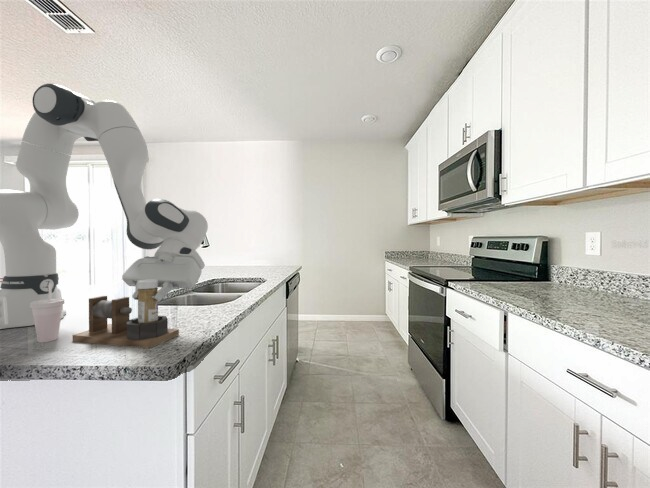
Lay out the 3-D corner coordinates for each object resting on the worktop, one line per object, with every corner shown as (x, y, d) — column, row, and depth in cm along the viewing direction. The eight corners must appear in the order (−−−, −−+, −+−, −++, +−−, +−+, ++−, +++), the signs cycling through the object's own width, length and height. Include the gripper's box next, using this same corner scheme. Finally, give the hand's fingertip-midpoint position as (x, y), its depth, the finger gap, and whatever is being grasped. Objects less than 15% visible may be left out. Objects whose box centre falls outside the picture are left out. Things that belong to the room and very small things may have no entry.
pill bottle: (159, 334, 75) (158, 280, 74) (137, 337, 72) (137, 281, 72) (158, 329, 79) (157, 278, 78) (137, 332, 76) (137, 279, 76)
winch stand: (72, 341, 74) (72, 300, 74) (109, 329, 84) (109, 293, 84) (149, 348, 69) (148, 305, 69) (178, 335, 79) (178, 297, 79)
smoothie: (71, 337, 77) (70, 282, 77) (40, 345, 71) (39, 286, 71) (54, 334, 79) (54, 281, 79) (23, 342, 73) (22, 284, 73)
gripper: (135, 249, 84) (102, 289, 75) (200, 250, 80) (174, 293, 70) (147, 264, 88) (118, 304, 79) (210, 265, 84) (187, 308, 75)
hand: (145, 299), depth 75 cm, fingers closed on pill bottle, 4 cm apart
